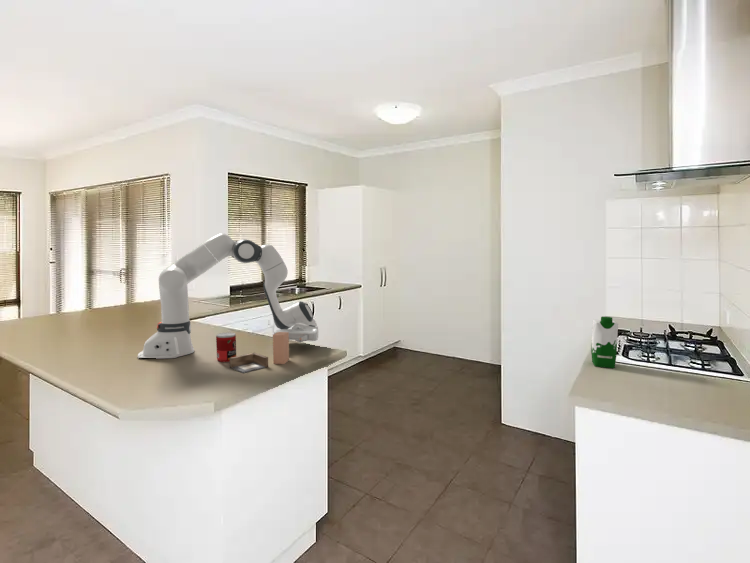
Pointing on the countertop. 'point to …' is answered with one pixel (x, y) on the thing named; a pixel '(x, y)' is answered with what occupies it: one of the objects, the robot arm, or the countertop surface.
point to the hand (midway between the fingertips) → (290, 338)
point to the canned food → (225, 346)
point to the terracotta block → (281, 347)
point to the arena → (248, 362)
